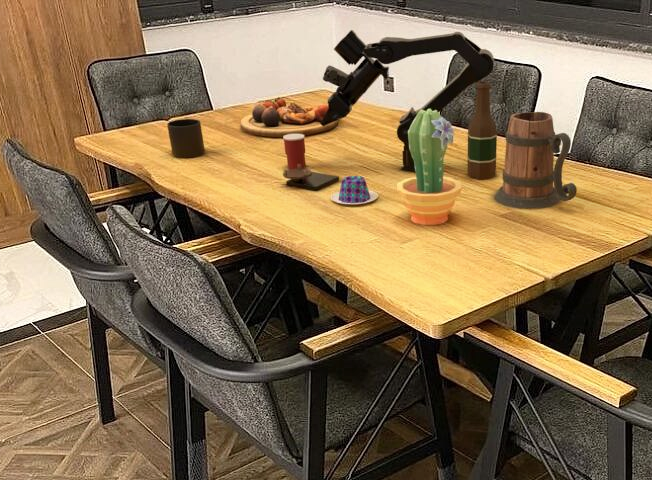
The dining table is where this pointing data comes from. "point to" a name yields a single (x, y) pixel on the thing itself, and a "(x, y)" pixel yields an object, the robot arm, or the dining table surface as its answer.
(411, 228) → the dining table surface
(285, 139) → the red cup with lid
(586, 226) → the dining table surface
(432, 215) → the potted cactus
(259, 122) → the wooden plate
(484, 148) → the beer bottle
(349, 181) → the pudding
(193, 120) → the dark brown cup
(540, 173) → the tankard
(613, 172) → the dining table surface
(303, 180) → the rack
